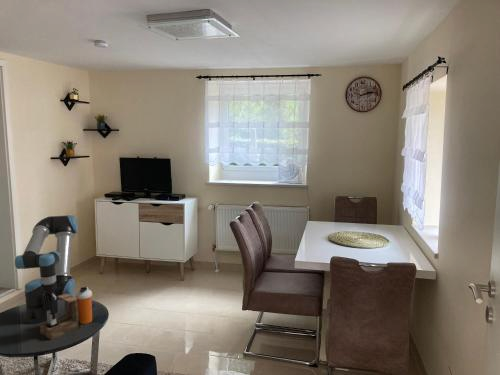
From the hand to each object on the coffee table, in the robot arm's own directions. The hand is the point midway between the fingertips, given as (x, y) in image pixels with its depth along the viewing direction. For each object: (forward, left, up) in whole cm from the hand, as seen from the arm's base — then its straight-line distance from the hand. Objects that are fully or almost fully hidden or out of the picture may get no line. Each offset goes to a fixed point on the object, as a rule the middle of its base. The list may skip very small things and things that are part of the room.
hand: (52, 323), depth 226 cm
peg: (0, 0, -4) cm, 4 cm away
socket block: (0, +4, -6) cm, 7 cm away
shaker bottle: (+1, +19, -6) cm, 20 cm away
